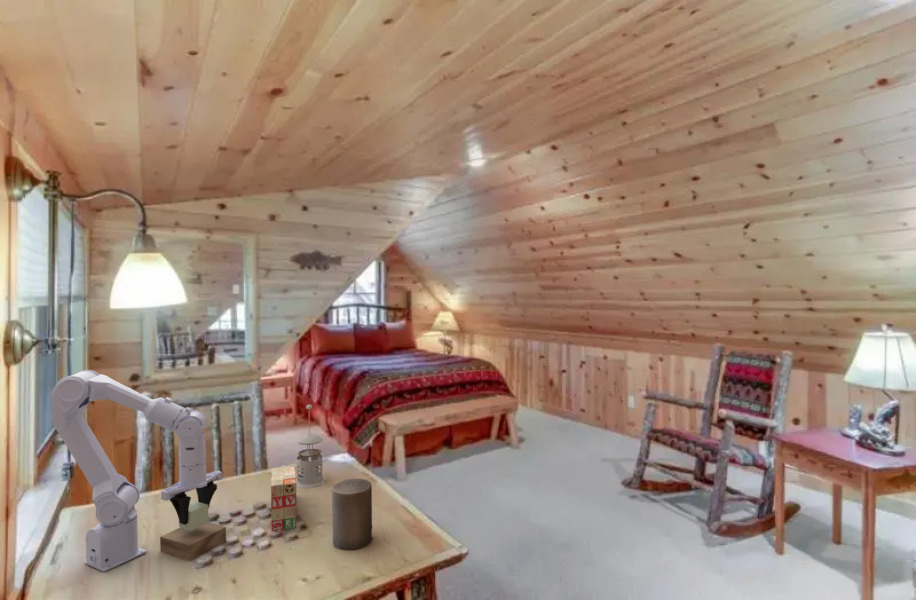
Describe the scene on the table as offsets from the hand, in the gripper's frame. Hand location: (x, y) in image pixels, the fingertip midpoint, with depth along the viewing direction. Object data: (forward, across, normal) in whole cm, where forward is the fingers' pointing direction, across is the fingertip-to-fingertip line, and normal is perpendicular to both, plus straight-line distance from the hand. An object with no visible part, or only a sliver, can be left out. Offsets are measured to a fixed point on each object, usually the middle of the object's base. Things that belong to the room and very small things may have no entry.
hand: (193, 518), depth 123 cm
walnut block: (+7, 0, 0) cm, 7 cm away
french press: (+7, +44, +5) cm, 45 cm away
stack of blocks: (+7, +23, -5) cm, 25 cm away
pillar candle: (+7, +20, -32) cm, 38 cm away
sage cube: (+2, 0, 0) cm, 2 cm away
